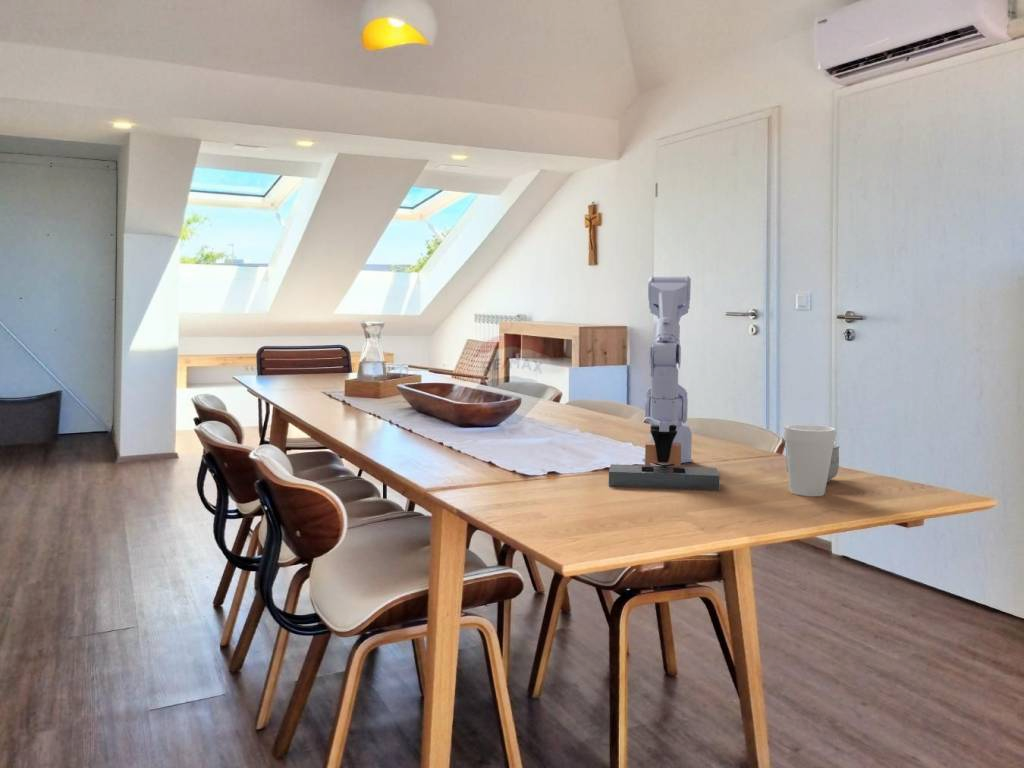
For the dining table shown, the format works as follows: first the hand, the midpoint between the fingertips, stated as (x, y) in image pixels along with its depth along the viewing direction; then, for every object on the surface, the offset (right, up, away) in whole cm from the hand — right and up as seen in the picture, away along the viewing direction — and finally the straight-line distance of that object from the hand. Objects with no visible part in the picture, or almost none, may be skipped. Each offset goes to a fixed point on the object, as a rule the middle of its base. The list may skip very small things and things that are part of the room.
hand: (662, 459), depth 178 cm
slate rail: (-2, -4, -9) cm, 10 cm away
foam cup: (+26, -5, -16) cm, 31 cm away
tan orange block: (0, -3, 0) cm, 3 cm away
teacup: (+32, -4, -4) cm, 32 cm away
